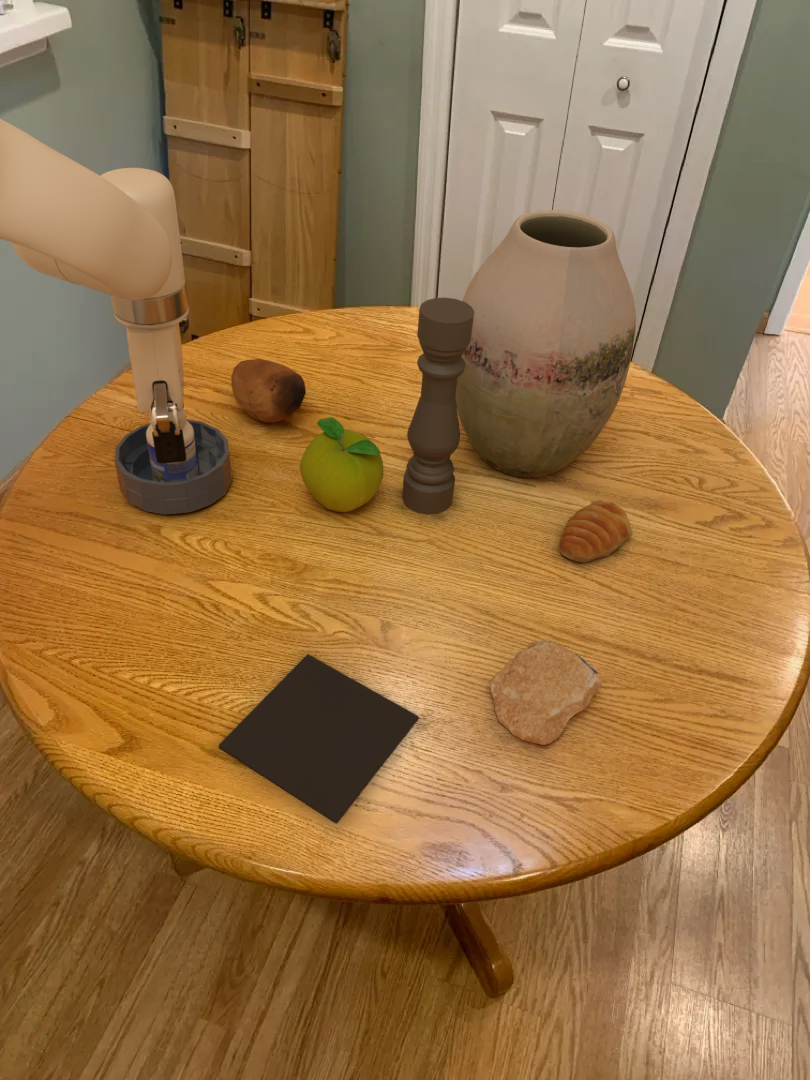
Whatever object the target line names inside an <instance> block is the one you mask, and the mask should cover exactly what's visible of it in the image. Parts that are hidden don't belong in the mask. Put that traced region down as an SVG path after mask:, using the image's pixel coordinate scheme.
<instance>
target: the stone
mask: <svg viewBox="0 0 810 1080" xmlns="http://www.w3.org/2000/svg"><path fill="white" fill-rule="evenodd" d="M598 673H599V671H597V670H596V669H595V668H594V667H592V665H590V664H589V663H588V662H587V661H586V660H585V659H584V658H583V657H582V656H580V654H578V653H575V652H573V651H571V650H570V649H569V648H567V647H565V646H563V645H562V644H560V643H557V642H555V641H552V640H550V641H547V640H543V639H541V640H534V641H531V642H530V643H528V646H527V647H526V648H525V649H524V650H521V651H519V652H517V653H516V654H515V656H514V657H513V658H512V659H511V660H509V661H508V662H507V663H506V664H505V665H504V666H503V668H502V670H500V671H498V672H497V673H496V674H494V675H493V676H492V678H491V679H490V680H489V685H490V692H491V698H492V700H493V701H494V703H493V707H494V708H495V709H494V713H495V715H496V718H497V719H496V720H497V722H498V723H499V724H501V726H503V727H504V728H505V729H507V731H508V732H509V733H511V734H512V735H513V736H514V737H516V738H518V739H520V740H521V741H525V742H529V743H532V744H535V745H537V744H538V745H540V746H548V745H549V744H552V743H554V742H555V741H558V740H559V738H560V737H561V736H562V735H563V733H564V731H565V730H566V729H567V724H568V722H569V721H570V719H571V718H573V717H574V716H575V715H576V714H578V713H580V712H582V711H584V710H586V709H588V708H589V706H590V705H591V702H592V700H593V698H595V697H596V696H597V693H598V692H599V689H600V688H601V687H602V683H603V682H602V680H601V677H600V676H598Z"/></svg>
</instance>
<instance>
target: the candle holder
mask: <svg viewBox="0 0 810 1080" xmlns="http://www.w3.org/2000/svg"><path fill="white" fill-rule="evenodd" d="M418 310H419V311H418V319H417V321H418V322H417V332H416V333H417V335H416V337H417V339H418V343H419V345H420V348H421V350H422V354H420V355H419V356H418V358H417V361H416V363H417V364H416V365H417V367H418V370H419V371H420V372H421V374H422V376H421V377H422V378H421V386H420V387H421V388H420V389H421V390H420V397H419V399H418V402H417V404H416V407H415V410H414V413H413V416H412V419H411V421H410V424H409V427H408V429H407V435H406V436H407V441H408V444H409V447H410V448H411V450H412V453H413V455H412V456H411V457H410V458H409V459H408V461H407V463H406V469H405V472H404V474H403V480H402V481H403V482H402V495H401V496H402V497H401V498H402V501H403V504H404V505H405V506H406V507H407V508H408V509H409V510H411V511H413V512H416V513H418V514H422V515H438V514H440V513H443V512H446V511H448V509H449V508H450V507H451V506H452V503H453V501H454V499H453V498H454V491H455V484H456V477H455V474H454V472H455V466H454V463H453V461H452V460H451V456H452V454H454V452H455V451H456V450H457V449H458V447H459V444H460V441H461V435H462V434H461V427H460V422H459V420H460V419H459V414H458V410H457V406H456V399H455V395H456V387H457V378H458V377H459V376H460V375H461V374H462V373H463V372H464V369H465V365H466V364H465V361H464V359H463V358H462V354H463V353H464V352H465V351H466V349H467V346H468V345H469V344H470V341H471V335H472V327H473V319H474V310H473V308H472V307H471V306H470V305H468V304H467V303H466V302H463V300H460V299H457V298H451V297H433V298H429V299H427V300H425V301H423V302H422V303H421V304H420V305H419V309H418Z"/></svg>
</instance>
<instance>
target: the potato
mask: <svg viewBox="0 0 810 1080" xmlns="http://www.w3.org/2000/svg"><path fill="white" fill-rule="evenodd" d="M230 378H231V379H230V380H231V381H230V382H231V389H232V394H233V397H234V399H235V401H236V402H237V404H238V405H239V406H240V408H241V409H242V410H243V411H244V412H245V413H246V414H247V415H248V416H250V417H252V418H253V419H256V420H257V421H261V422H264V423H278V422H281V421H283V420H285V419H288V418H290V417H292V416H293V415H294V414H295V413H296V412H298V410H299V409H300V408H301V407H302V404H303V401H304V399H305V396H306V394H307V389H306V383H305V381H304V378H303V376H302V375H301V374H299V373H298V372H296V371H294V370H293V368H292V369H291V368H290V367H288V366H286V365H284V364H281V363H278V362H275V361H273V360H272V361H271V360H268V359H261V358H255V359H253V358H252V359H246V360H243V361H242V360H241V361H240V362H239V363H238V364H236V366H234V367H233V370H232V373H231V377H230Z"/></svg>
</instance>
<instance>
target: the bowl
mask: <svg viewBox="0 0 810 1080" xmlns="http://www.w3.org/2000/svg"><path fill="white" fill-rule="evenodd" d="M187 421H188V422H189V423H190V424H191V425H192V427H193V430H194V438H195V447H196V457H197V465H198V474H199V476H196V477H193V478H190V479H187V480H184V481H172V482H158V481H154V480H153V475H152V469H151V463H150V456H149V450H148V444H147V437H146V431H147V429H148V427H149V426H150V424H151V423H150V422H149V423H146V424H142V425H140V426H138V427H136V428H134V429H132V430H131V431H130V432H128V433H126V434H125V435H123V437H122V438H121V440H120V441H119V442H118V444H117V445H116V446H115V447H114V465H115V471H116V475H117V479H118V484H119V489H120V491H121V493H122V495H123V496H124V498H125V499H126V500H127V501H128V503H130V504H131V505H133V506H135V507H137V508H139V509H141V510H142V511H145V512H148V513H154V514H160V515H161V514H162V515H175V514H176V515H177V514H186V513H192V512H196V511H198V510H201V509H203V508H206V507H209V506H211V505H212V504H214V503H215V502H216V501H218V500H219V499H220V498H222V497H224V496H225V494H226V493H227V491H228V489H229V487H230V485H231V483H233V479H232V468H231V457H230V447H229V439H228V437H226V436H225V435H224V434H223V433H222V431H221V430H220V429H219V428H218V427H215V426H213V425H211V424H208V423H206V422H204V421H201V420H194V419H188V418H187Z"/></svg>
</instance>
